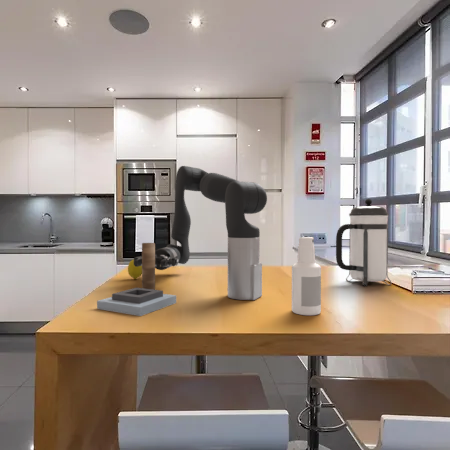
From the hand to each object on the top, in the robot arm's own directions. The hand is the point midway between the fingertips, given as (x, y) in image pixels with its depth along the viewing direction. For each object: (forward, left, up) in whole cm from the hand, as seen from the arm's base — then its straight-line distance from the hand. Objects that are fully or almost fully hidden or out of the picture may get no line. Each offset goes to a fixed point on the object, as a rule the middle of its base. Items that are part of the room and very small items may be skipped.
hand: (149, 263), depth 105 cm
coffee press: (-60, -45, -9) cm, 75 cm away
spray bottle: (-50, +2, -9) cm, 51 cm away
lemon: (+18, -14, -9) cm, 24 cm away
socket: (-10, +16, -9) cm, 21 cm away
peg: (0, 0, -9) cm, 9 cm away
